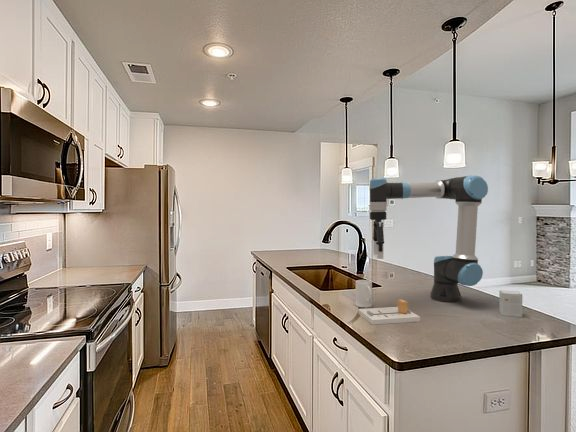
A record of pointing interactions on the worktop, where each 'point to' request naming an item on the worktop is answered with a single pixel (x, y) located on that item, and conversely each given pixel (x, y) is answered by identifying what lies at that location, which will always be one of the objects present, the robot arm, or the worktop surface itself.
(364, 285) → the mug
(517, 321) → the worktop surface
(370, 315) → the console
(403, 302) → the fader
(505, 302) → the small box
